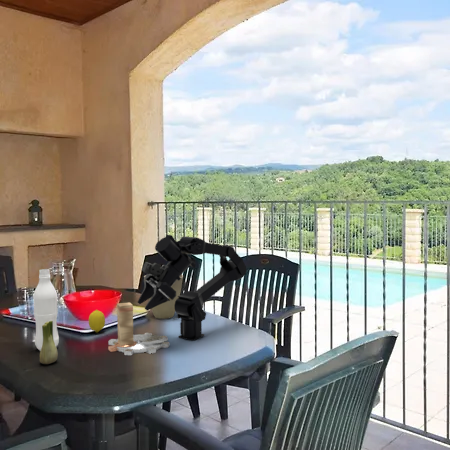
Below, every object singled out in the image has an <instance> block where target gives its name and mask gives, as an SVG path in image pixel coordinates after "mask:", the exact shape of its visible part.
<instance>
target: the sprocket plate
mask: <svg viewBox="0 0 450 450" xmlns="http://www.w3.org/2000/svg"><path fill="white" fill-rule="evenodd" d="M133 343H134V344H133V345H125V346H120V344H119V343H118V338H110V339H109V340H108V346H107V347H108V348H107V349H108V351H109V352H111V353H113V352H120V353H124V356H132V355H134V354H145V353H144V352H146V353H147V354H149V355H152V354H156V353H157V350H160V349H163V348H165V349H167V348H169V347H170V341H168V336H166V335H160V336H159V335H155V334H153V333H152V332H145V333H144V334H133ZM151 353H152V354H151Z"/></svg>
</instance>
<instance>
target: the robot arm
mask: <svg viewBox="0 0 450 450" xmlns="http://www.w3.org/2000/svg"><path fill="white" fill-rule="evenodd" d="M154 250H155V251H156V252H157V253H158V254H159V255H160V256H161V257H162V258H163V259H164V261H166V262H167V264H166V265H165V264H162V265H161V264H160V263H156V262H154V263H150V262H148V261H145V262H144V264H143V266H142V269H141V271H142V272H143V273H145V274H146V276H145V275H144V276H145V277H144V276H143V284H144V287H143V290H142V291H141V294H140V296H139V298H138V300H137V303H138V304H139V305H141V304H143V303H145V302H146V301H147V300H148V302H147V303H146V304H145V307H144V310H145V311H149V310H152V308H154V307H156V306H158V305H160V304H162V303H165V302H167V301H170V300H169V299H168V298H170V299H171V300H173V299H174V298H175V297H176V291H175V290H174V289H173V288H172V287H171V286H172V285H173V284H174V283H175V281H176V280H178V281H179V280H180V279H181V278H180V276H181V275H183V273H184V272H185V271H186V270H187V269H188V268H189V266H190V267H192V268H196V259H195V258H193V257H190V256H189V255H193V256H198V255H199V256H200V255H203V254H208V255H216V256H219V264H220V269H219V272H218V273H217V274H215V276H213V277H211V279H209V280H208V281H207V282H205V283H204V284H203V285H201V286H200V287H199V288H198V289H196V290H195V291H189V290H185V291H183V292H182V293H181V294H180V296H178V297H179V298H178V299H177V300H176V301H175V305H174V307H175V314H176V317H177V318H178V319H180V323H179V325H180V326H179V327H180V334H179V335H178V338H179V339H185V340H189V341H196V340H198V339H200V338H203V337H205V334H204V333H203V332H202V326H203V325H202V322H203V321H204V320H205V319H206V317H207V313H206V311H205V310H204V309H203V307H204V304H205V303H206V302H207V301H208V300H209V299H210V298H212V297H214V295H215V294H217V293H218V292H220V290H221V289H223V288H224V287H225V286H226V285H228V284H229V283H231V282H235V281H238V280H241V279H242V278H244V277H245V276H246V273H247V266H246V264H245V261H244V260H243V258H242V257H241V256H240V255H239V254H238V253H237V252H236V250H235V247H233V246H232V245H225V244H224V245H223V244H218V243H217V244H216V243H211V242H207V241H205V239H202V238H199V237H195V236H181V238H180V239H179V240H177V241H176V239H175V238H174V237H173V235H172V234H166V235H165V236H164V237H163V238H161V239H160V240H158V241H156V244H155V247H154ZM228 258H229V259H228ZM144 279H145V280H147V281H145V280H144ZM149 298H151V299H150V300H149Z"/></svg>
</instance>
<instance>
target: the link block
mask: <svg viewBox="0 0 450 450" xmlns="http://www.w3.org/2000/svg"><path fill="white" fill-rule="evenodd" d="M116 315H117V317H116V318H117V339H118V343H119V344H120V346H125V345H133V344H134V343H133V335H134V305H133V304H132V303H131V302H120V303H116Z"/></svg>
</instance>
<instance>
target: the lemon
mask: <svg viewBox="0 0 450 450" xmlns="http://www.w3.org/2000/svg"><path fill="white" fill-rule="evenodd" d="M88 325H89V328H90V330H92V331H94V332H95V333H99V332H100V331H101V330H103V329H104V327H105V325H106V318H105V314H104V313H103V312H102V311H100V310H98V309H95V310H93V311H92V312H91V313H90V314H89V316H88Z"/></svg>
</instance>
